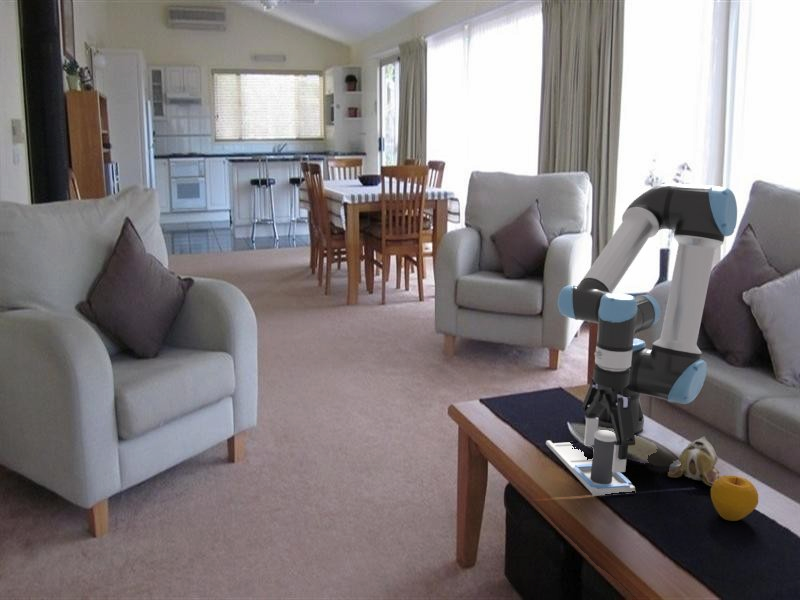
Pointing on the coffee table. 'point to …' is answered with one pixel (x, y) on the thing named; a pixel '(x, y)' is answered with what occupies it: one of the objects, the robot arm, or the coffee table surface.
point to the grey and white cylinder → (603, 456)
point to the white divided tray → (588, 470)
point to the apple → (734, 497)
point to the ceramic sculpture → (698, 462)
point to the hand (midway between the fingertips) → (603, 457)
